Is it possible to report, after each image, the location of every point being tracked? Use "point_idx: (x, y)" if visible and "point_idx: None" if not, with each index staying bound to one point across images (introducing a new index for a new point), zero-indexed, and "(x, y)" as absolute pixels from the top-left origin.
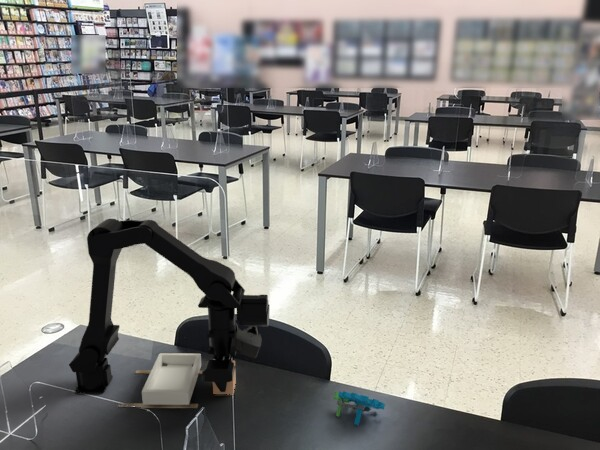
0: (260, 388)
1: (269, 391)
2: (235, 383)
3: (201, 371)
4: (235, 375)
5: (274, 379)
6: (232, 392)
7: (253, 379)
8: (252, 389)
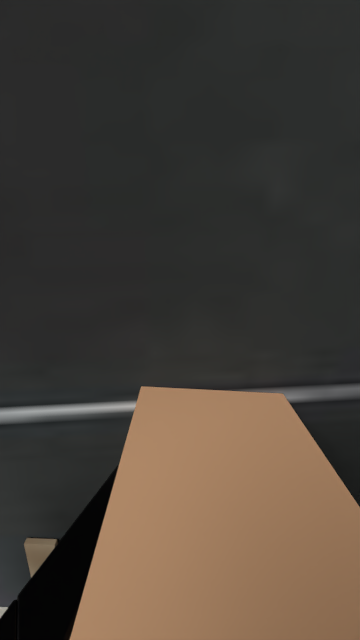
0: (223, 181)
1: (283, 76)
2: (157, 391)
3: (38, 567)
4: (129, 436)
5: (71, 4)
6: (290, 413)
7: (88, 253)
8: (230, 257)
